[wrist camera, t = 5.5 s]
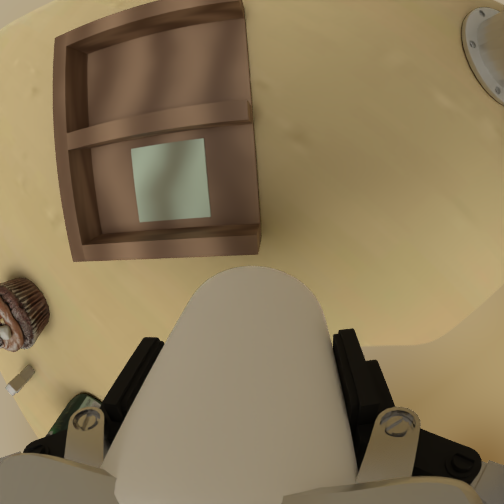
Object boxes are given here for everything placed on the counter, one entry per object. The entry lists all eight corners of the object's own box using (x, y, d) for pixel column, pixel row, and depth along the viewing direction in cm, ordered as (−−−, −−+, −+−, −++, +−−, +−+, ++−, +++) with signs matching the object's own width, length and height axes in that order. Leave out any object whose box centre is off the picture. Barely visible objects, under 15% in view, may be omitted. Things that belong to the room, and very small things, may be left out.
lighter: (29, 379, 42) (6, 406, 34) (22, 372, 41) (-2, 398, 34) (40, 365, 40) (14, 394, 32) (33, 357, 39) (6, 385, 32)
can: (247, 396, 16) (215, 610, 4) (160, 314, 15) (26, 536, 3) (350, 334, 14) (416, 588, 3) (263, 231, 13) (200, 576, 2)
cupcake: (4, 300, 36) (-38, 331, 27) (17, 257, 34) (-33, 285, 24) (44, 343, 38) (7, 381, 28) (62, 305, 35) (17, 344, 26)
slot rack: (244, 8, 23) (237, -15, 18) (261, 237, 30) (258, 254, 25) (81, 48, 25) (54, 38, 20) (97, 246, 32) (73, 261, 27)
